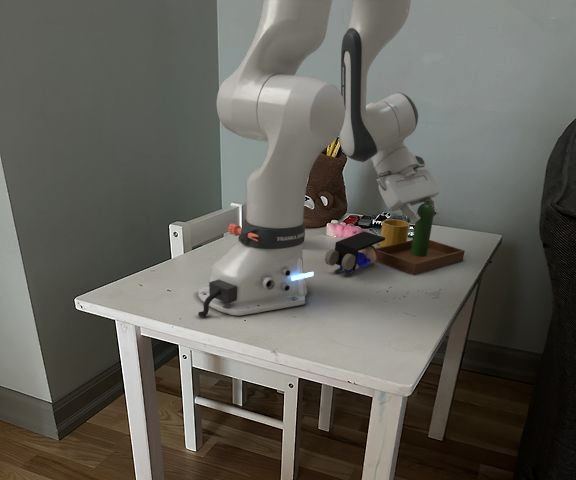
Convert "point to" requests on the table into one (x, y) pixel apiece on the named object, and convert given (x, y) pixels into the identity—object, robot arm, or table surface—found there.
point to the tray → (418, 257)
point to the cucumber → (422, 230)
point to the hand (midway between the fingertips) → (426, 218)
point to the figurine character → (354, 252)
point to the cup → (394, 232)
